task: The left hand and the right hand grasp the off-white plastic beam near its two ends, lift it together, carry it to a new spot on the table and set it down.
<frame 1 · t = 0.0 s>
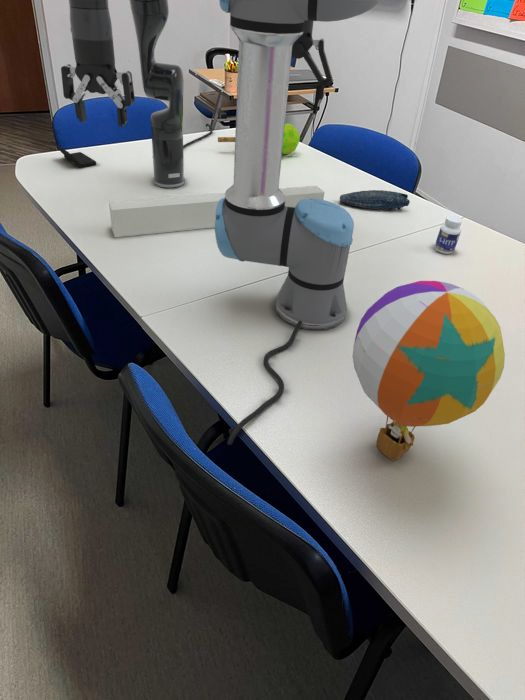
left hand: (102, 123, 110), 29 cm above the table, tool pointing down, fingers open, 8 cm apart
right hand: (288, 109, 135), 28 cm above the table, tool pointing down, fingers open, 13 cm apart
pill bottle: (443, 250, 140), on the table
beam: (222, 222, 144), on the table
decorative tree: (258, 154, 190), on the table
black flat handled piece: (75, 162, 170), on the table
toy: (391, 451, 83), on the table
fish model: (372, 206, 160), on the table
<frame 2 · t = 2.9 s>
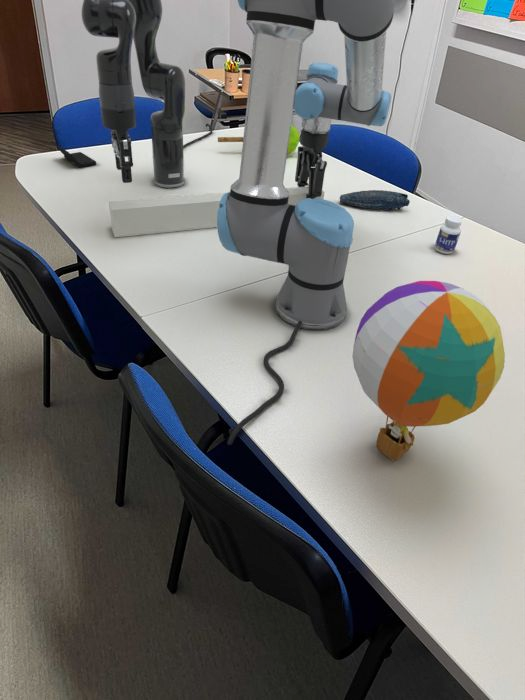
left hand: (124, 175, 126), 15 cm above the table, tool pointing down, fingers open, 8 cm apart
right hand: (304, 212, 151), 1 cm above the table, tool pointing down, fingers closed on beam, 5 cm apart
beam: (222, 222, 144), on the table, touching right hand
everything else where it was.
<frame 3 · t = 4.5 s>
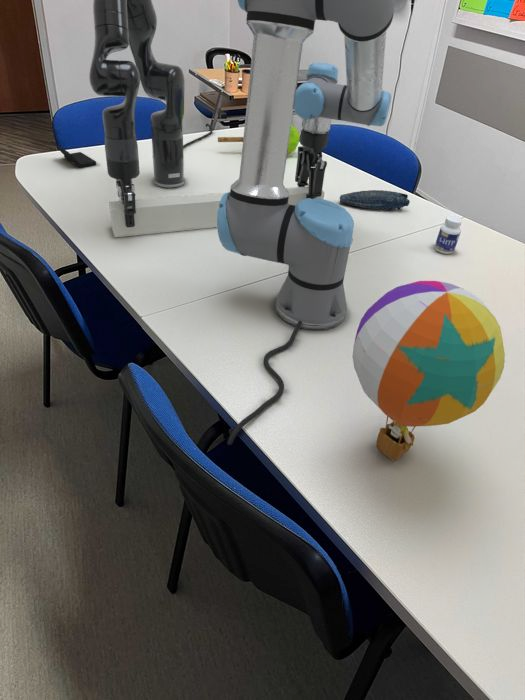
left hand: (128, 221, 133), 3 cm above the table, tool pointing down, fingers closed on beam, 5 cm apart
right hand: (304, 212, 151), 1 cm above the table, tool pointing down, fingers closed on beam, 5 cm apart
beam: (222, 222, 144), on the table, touching right hand, left hand
everything else where it was.
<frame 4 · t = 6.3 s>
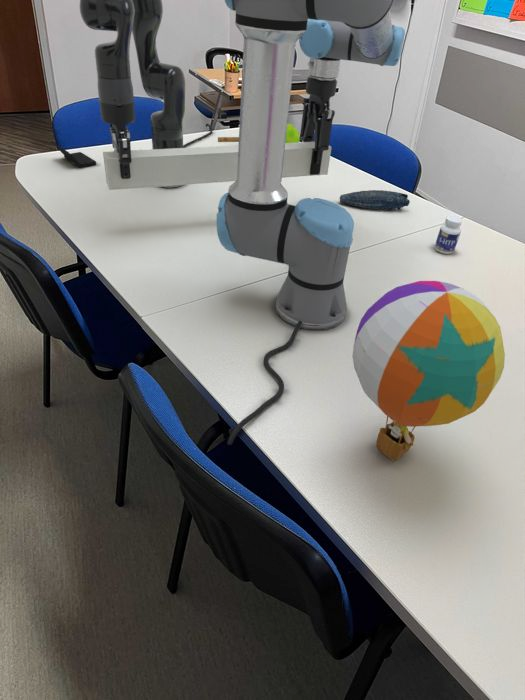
left hand: (123, 173, 126), 15 cm above the table, tool pointing down, fingers closed on beam, 5 cm apart
right hand: (310, 170, 143), 13 cm above the table, tool pointing down, fingers closed on beam, 5 cm apart
beam: (223, 178, 136), point 12 cm above the table, touching right hand, left hand
everything else where it was.
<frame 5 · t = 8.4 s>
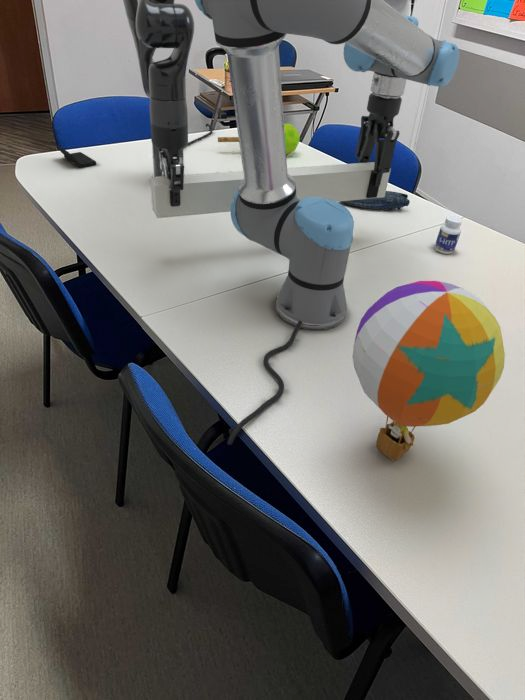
left hand: (172, 200, 116), 15 cm above the table, tool pointing down, fingers closed on beam, 5 cm apart
right hand: (365, 192, 133), 13 cm above the table, tool pointing down, fingers closed on beam, 5 cm apart
beam: (275, 202, 126), point 12 cm above the table, touching right hand, left hand
everything else where it was.
when the right hand's fingers open (2 cm above the table, at t = 10.1 s): beam stays where it is, on the table.
when the left hand's fingers open (3 cm above the table, at t = 10.3 s): beam stays where it is, on the table.
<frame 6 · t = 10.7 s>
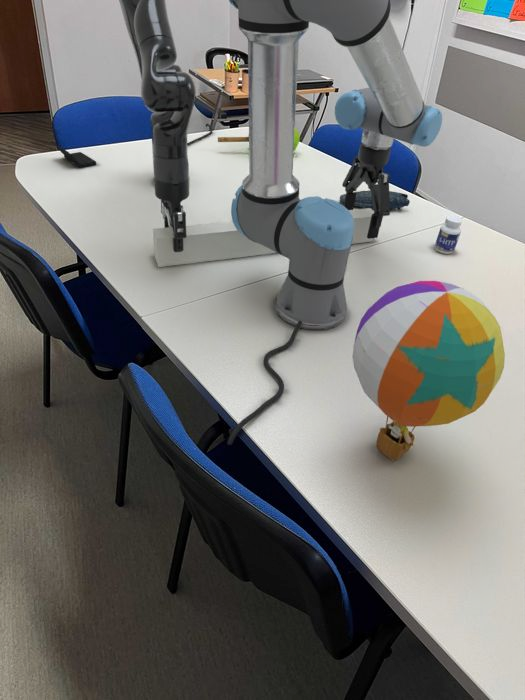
left hand: (173, 242, 122), 5 cm above the table, tool pointing down, fingers open, 8 cm apart
right hand: (359, 226, 139), 4 cm above the table, tool pointing down, fingers open, 13 cm apart
beam: (270, 248, 134), on the table
everything else where it was.
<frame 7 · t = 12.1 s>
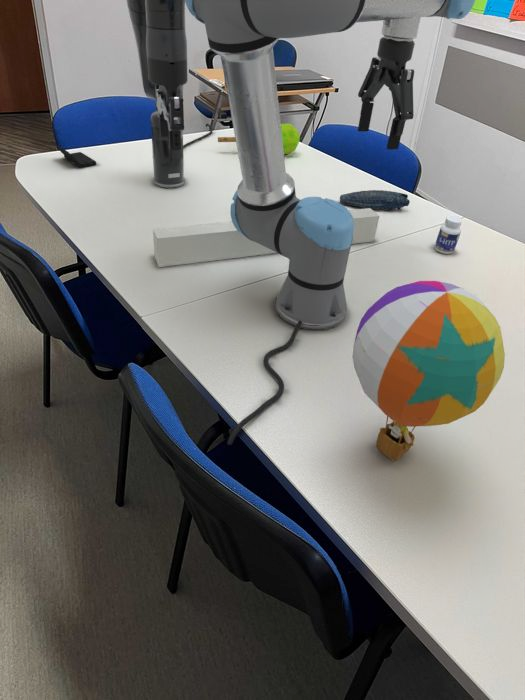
left hand: (170, 142, 108), 28 cm above the table, tool pointing down, fingers open, 8 cm apart
right hand: (377, 139, 125), 26 cm above the table, tool pointing down, fingers open, 13 cm apart
nothing on the table moved.
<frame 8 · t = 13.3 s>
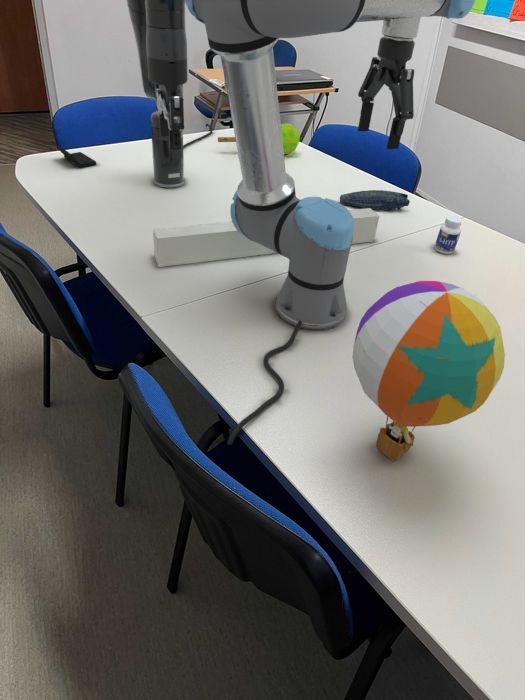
left hand: (170, 142, 108), 28 cm above the table, tool pointing down, fingers open, 8 cm apart
right hand: (377, 139, 125), 26 cm above the table, tool pointing down, fingers open, 13 cm apart
nothing on the table moved.
at the end: beam inside the target area (0.2 cm from its centre), on the table; beam tilted 0°; beam never tilted more than 1° during the clip; both hands held the beam at the same time; the left hand is holding nothing; the right hand is holding nothing; beam at rest at the end (0.0 cm/s) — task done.
